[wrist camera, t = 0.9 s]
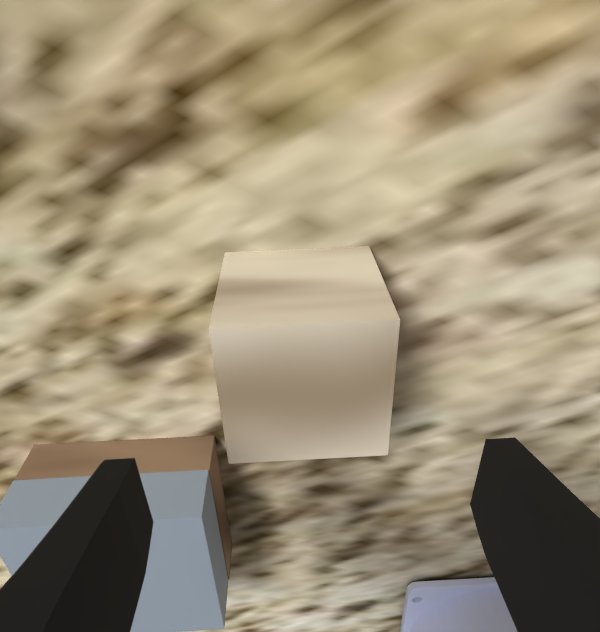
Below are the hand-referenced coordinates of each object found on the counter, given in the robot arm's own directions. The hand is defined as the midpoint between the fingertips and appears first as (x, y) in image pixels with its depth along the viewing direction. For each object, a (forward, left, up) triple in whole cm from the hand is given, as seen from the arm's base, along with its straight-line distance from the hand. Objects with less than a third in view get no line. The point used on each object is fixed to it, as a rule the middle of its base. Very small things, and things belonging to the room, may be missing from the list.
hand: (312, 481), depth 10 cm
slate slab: (-9, +7, -5) cm, 13 cm away
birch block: (0, 0, -7) cm, 7 cm away
